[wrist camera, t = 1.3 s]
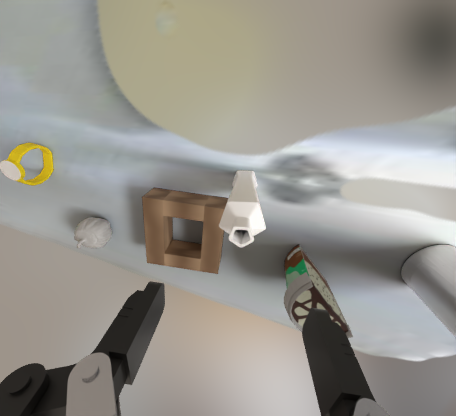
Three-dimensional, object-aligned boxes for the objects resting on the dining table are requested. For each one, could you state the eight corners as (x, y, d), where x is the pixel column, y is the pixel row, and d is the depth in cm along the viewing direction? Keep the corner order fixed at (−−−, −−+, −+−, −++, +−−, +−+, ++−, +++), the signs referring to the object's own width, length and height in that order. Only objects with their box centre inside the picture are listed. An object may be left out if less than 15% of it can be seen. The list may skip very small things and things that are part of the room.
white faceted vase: (225, 171, 30) (205, 220, 17) (254, 163, 29) (257, 207, 16) (234, 199, 32) (223, 263, 19) (261, 192, 31) (270, 253, 18)
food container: (263, 254, 36) (268, 302, 27) (294, 238, 34) (310, 283, 25) (299, 297, 40) (314, 351, 31) (329, 284, 38) (354, 338, 29)
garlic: (99, 242, 39) (78, 260, 34) (80, 219, 37) (55, 234, 32) (124, 233, 37) (106, 250, 32) (105, 208, 35) (83, 223, 30)
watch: (60, 179, 34) (25, 194, 29) (43, 173, 34) (5, 188, 29) (55, 144, 31) (15, 154, 26) (37, 137, 31) (-7, 146, 26)
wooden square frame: (228, 198, 32) (225, 209, 28) (220, 258, 37) (217, 273, 34) (153, 187, 32) (142, 197, 29) (156, 248, 38) (146, 262, 34)
